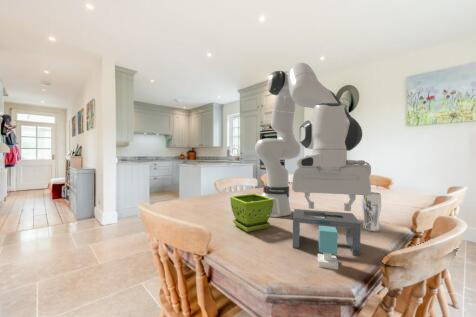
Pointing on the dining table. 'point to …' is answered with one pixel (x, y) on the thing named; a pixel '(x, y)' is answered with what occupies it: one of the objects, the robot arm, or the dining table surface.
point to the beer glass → (371, 211)
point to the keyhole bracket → (331, 220)
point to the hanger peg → (327, 247)
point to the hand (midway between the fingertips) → (328, 209)
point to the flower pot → (251, 211)
